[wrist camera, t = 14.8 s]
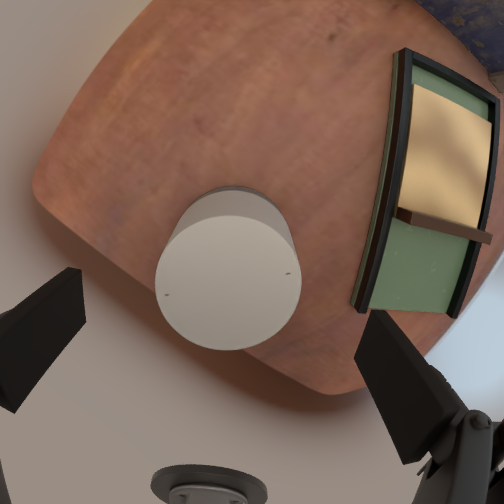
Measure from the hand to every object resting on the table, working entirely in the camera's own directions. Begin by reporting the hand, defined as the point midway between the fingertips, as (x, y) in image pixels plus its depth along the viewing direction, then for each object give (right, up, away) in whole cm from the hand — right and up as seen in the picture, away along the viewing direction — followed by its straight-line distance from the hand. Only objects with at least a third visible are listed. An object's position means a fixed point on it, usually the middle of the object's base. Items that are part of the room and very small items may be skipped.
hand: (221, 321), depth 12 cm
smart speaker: (0, +5, +17) cm, 17 cm away
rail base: (+22, +10, +15) cm, 28 cm away
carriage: (+22, +12, +14) cm, 29 cm away
